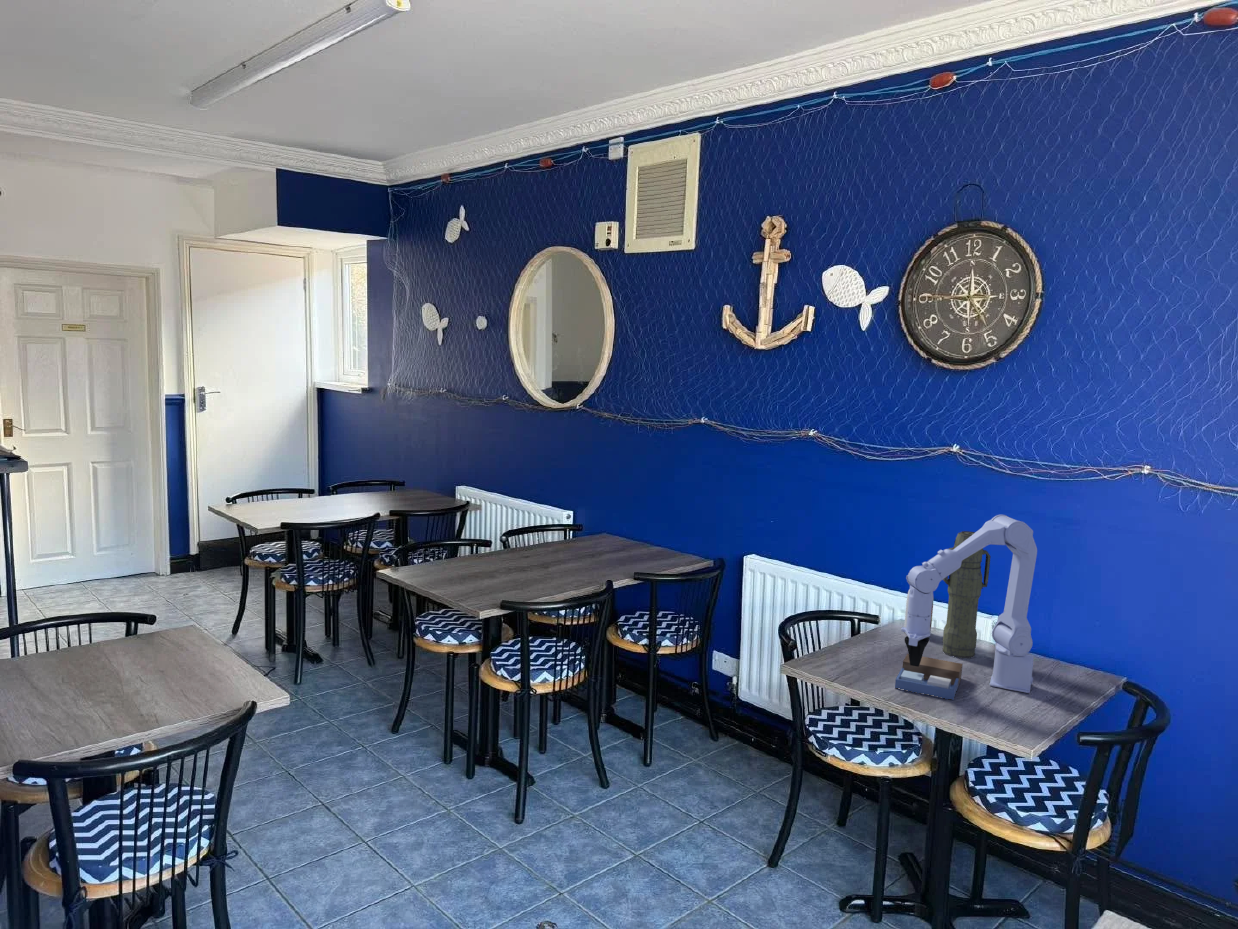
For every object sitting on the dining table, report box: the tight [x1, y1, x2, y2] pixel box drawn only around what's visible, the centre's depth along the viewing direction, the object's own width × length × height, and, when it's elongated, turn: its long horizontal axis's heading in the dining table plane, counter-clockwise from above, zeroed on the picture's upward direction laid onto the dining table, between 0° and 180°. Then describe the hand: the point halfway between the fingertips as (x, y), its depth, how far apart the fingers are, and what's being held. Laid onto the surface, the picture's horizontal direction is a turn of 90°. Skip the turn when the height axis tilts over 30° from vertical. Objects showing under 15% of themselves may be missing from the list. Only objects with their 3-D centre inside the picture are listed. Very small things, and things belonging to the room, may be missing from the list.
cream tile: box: [927, 675, 951, 689], centre depth 223 cm, size 5×5×2 cm
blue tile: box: [900, 670, 924, 684], centre depth 226 cm, size 5×5×2 cm
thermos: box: [942, 530, 991, 659], centre depth 251 cm, size 9×12×35 cm
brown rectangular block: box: [901, 653, 963, 687], centre depth 233 cm, size 14×7×4 cm, turn 63°
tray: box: [894, 667, 959, 701], centre depth 225 cm, size 14×10×2 cm
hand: (914, 665), depth 228 cm, fingers closed
